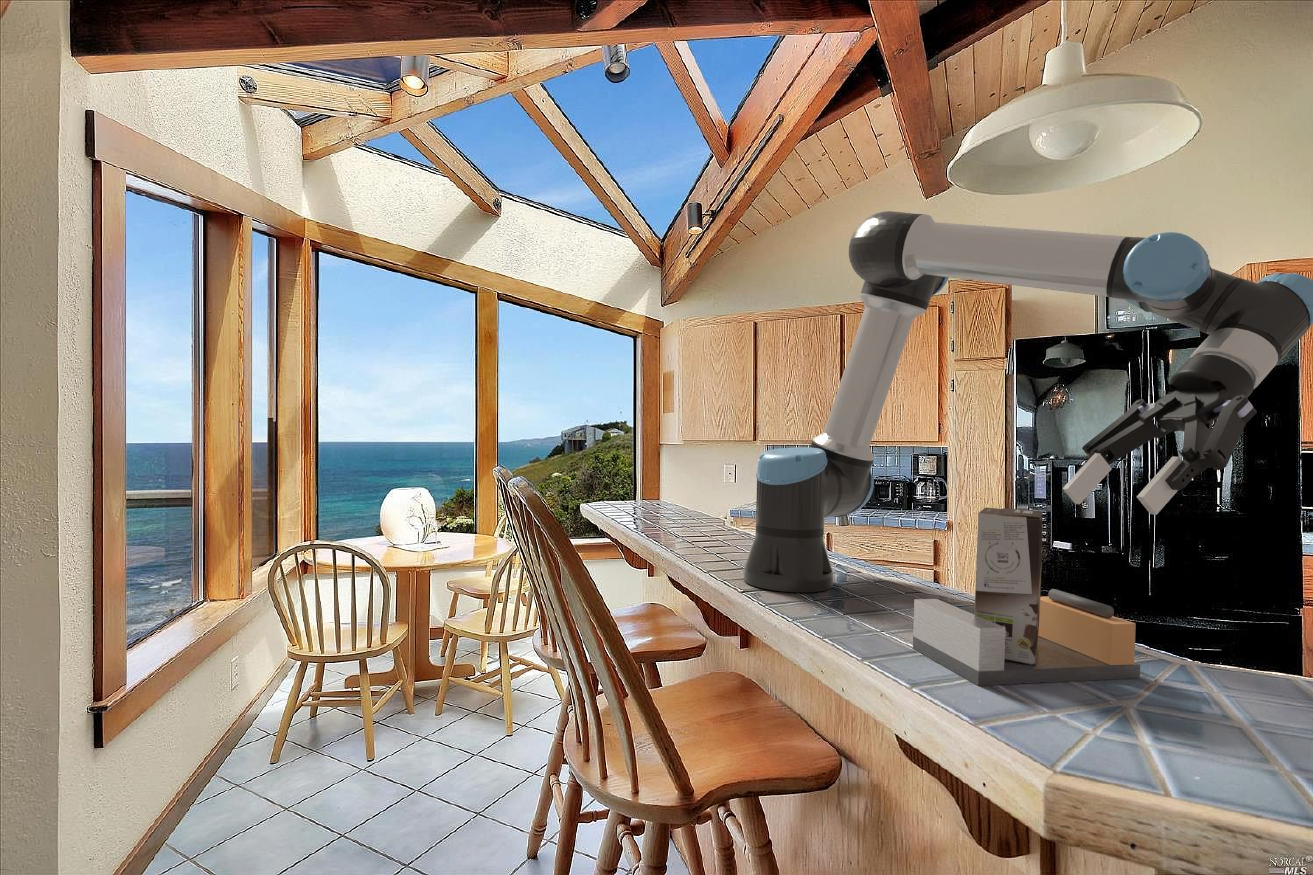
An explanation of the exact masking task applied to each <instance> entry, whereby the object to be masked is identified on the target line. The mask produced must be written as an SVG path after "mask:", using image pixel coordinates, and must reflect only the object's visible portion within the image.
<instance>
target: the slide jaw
mask: <svg viewBox="0 0 1313 875" xmlns="http://www.w3.org/2000/svg"><path fill="white" fill-rule="evenodd" d="M1114 614H1115V609H1114V608H1113V606H1111V605H1108V604H1105V603H1102V602H1098V601H1096V600H1091V599H1089V598H1085V597H1082V596H1079V595H1075V594H1072V593H1069V592H1066V591H1062V590H1059V589H1055V588H1051V589H1050V590H1049V591H1048V593H1047V596H1040V616H1039V632H1038V636H1040V637H1042V638H1045V639H1047V640H1050V641H1052V642H1055V643H1057V644H1060V645H1062V646H1065V647H1067V648H1070V649H1072V650H1074V651H1077V652H1079V653H1082V654H1084V655H1087V656H1089V657H1092V658H1094V659H1097V660H1099V661H1101V662H1104V663H1106V664H1109V665H1131V664H1134V662H1135V657H1136V656H1135V654H1136V653H1135V652H1136V623H1135V622H1133V621H1128V620H1126V619H1124V618H1123V619H1122V618H1120V617H1116V616H1114Z"/></svg>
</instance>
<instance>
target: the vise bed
mask: <svg viewBox="0 0 1313 875" xmlns="http://www.w3.org/2000/svg"><path fill="white" fill-rule="evenodd" d="M912 633H913V635H912V649H913V650H915V651H917V652H918V653H920V654H922V653H923V654H922V655H923V656H925V655H926V657H927V658H929V659H931V660H933V661H934V662H936V663H938V664H940V665H941V666H943V667H944V668H946V669H948V670H949V671H952V672H954V673H955V674H956V675H958V676H960V675H961V676H960V677H962V678H963V679H966V680H967V681H969V682H971V683H973V684H974V683H975V685H976V686H979V687H980V686H982V687H983V686H997V685H998V686H1002V685H1003V684H1004V685H1022V684H1023V683H1024V684H1025V683H1026V684H1041V683H1040V682H1047V683H1065V682H1084V681H1108V680H1109V681H1110V680H1129V679H1133V680H1134V679H1140V678H1141V664H1140V663H1137V662H1135V661H1134V664H1131V665H1109V664H1106V663H1104V662H1101V661H1099V660H1097V659H1094V658H1092V657H1089V656H1087V655H1084V654H1082V653H1079V652H1077V651H1074V650H1072V649H1070V648H1067V647H1065V646H1062V645H1060V644H1057V643H1055V642H1052V641H1050V640H1047V639H1045V638H1042V637H1040V636H1038V645H1037V653H1036V661H1035V664H1026V663H1021V662H1016V661H1012V660H1007V659H1004V656H1005V627H1003V626H1000V625H998V624H995V623H993V622H991V621H988V620H986V619H984V618H981V617H979V616H976V615H975V613H972V612H969V611H966V610H965V609H961V608H959V607H957V606H955V605H952V604H949V603H947V602H945V601H942V600H940V599H937V598H919V599H918V598H917V599H916V598H915V599H914V602H913V631H912ZM1001 684H1002V685H1001ZM1024 684H1023V685H1024Z"/></svg>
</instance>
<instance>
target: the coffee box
mask: <svg viewBox="0 0 1313 875" xmlns="http://www.w3.org/2000/svg"><path fill="white" fill-rule="evenodd" d="M977 513H978V521H977V522H978V523H977V524H978V525H977V542H976V543H977V546H976V566H975V567H976V570H975V594H974V615H976V616H979V617H981V618H984V619H986V620H988V621H991V622H993V623H995V624H998V625H1000V626H1003V627H1005V656H1004V659H1007V660H1012V661H1016V662H1021V663H1026V664H1035V661H1036V653H1037V645H1038V632H1039V616H1040V597H1041V594H1042V593H1041V588H1042V563H1043V561H1042V558H1043V557H1042V556H1043V511H1042V510H1036V509H1021V508H1006V507H1005V508H998V507H997V508H994V507H984V508H983V509H981V510H980V511H979V512H977Z"/></svg>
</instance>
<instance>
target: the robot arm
mask: <svg viewBox="0 0 1313 875" xmlns="http://www.w3.org/2000/svg"><path fill="white" fill-rule="evenodd" d="M848 259H849V263H850V264H851V269H852V270H853V271H854V272H855V274H856V275H858V277H860V278H861V280H863V281H864V282H863V284H862V288H861V290H860V294H859V296H860V298H861V301H862V302H863V304H864V310H863V313H862V315H861V318H860V320H859V324H858V328H857V330H856V334H855V336H854V340H853V342H852V346H851V350H850V352H849V356H848V358H847V361H846V364H845V368H844V370H843V373H842V376H841V378H840V379H841V380H840V382H839V385H838V387H837V392H836V394H835V396H834V400H833V404H832V405H831V409H830V411H829V415H828V419H827V421H826V423H825V424H826V425H825V428H824V429H823V432H822V433H820V434H818V435H816V436H814V437H813V438H812V440H811V443H810V446H809V447H807V446H806V447H804V446H802V447H798V446H796V447H795V446H794V447H793V446H792V447H786V448H784V447H782V448H781V447H780V448H774V449H769V450H766V451H764V452H762V453H761V454H760V455H759V457H758V461H757V462H758V463H757V470H756V473H755V475H756V499H755V500H756V504H755V505H756V508H755V510H756V511H755V512H756V513H755V536H754V540H753V542H752V546H751V548H750V551H749V554H748V556H747V558H746V563H745V564H744V570H743V571H744V572H743V574H744V575H743V581H744V582H745V583H746V584H749V585H751V586H753V587H757V588H760V589H765V590H770V591H775V592H776V591H777V592H786V593H787V592H788V593H818V592H824V591H829V590H831V589H832V588H833V587H834V586H833V585H834V572H833V569H832V565H831V563H830V558H829V555H828V553H827V552H828V551H827V549H826V545H825V540H824V539H825V538H824V537H825V519H828V518H843V517H846V516H848V515H851V514H853V513H856V512H858V511H859V510H861V509H862V508H863V507H865V505H866V504H867V503H868V502H869V501H870V499H871V497H872V494H873V492H874V487H875V485H874V484H875V480H874V476H873V475H872V466H873V464H874V461H875V460H874V459H875V456H874V453H873V452H872V449H871V447H870V446H871V442H872V440H873V437H874V435H875V431H876V429H877V426H878V422H879V420H880V417H881V414H882V411H883V409H884V405H885V402H886V400H887V397H888V394H889V390H890V388H891V385H892V384H893V379H894V377H895V374H896V371H897V369H898V366H899V362H900V359H901V358H902V357H901V356H902V353H903V350H904V348H905V345H906V343H907V339H908V337H909V333H910V331H911V328H912V325H913V323H914V321H915V319H916V318H918V317H920V316H921V315H923V314H926V313H927V310H928V307H929V304H930V302H931V298H932V297H933V296H935V295H936V294H937V293H939V292H940V291H942V290H943V288H944V287H945V286H946V284H947V282H948V281H949V278H951V279H959V280H968V281H976V282H977V281H978V282H985V283H991V284H1000V285H1001V284H1002V285H1009V286H1017V287H1023V288H1024V287H1025V288H1034V289H1039V290H1041V289H1042V290H1049V291H1058V292H1068V293H1075V294H1084V295H1090V296H1099V297H1108V298H1113V299H1119V300H1125V302H1127V303H1129V304H1130V305H1133V306H1135V307H1138V308H1139V309H1140V310H1142V311H1144V312H1146V313H1151V314H1152V313H1153V314H1155V315H1158V316H1160V317H1162V318H1164V319H1168V320H1170V321H1173V322H1176V323H1179V324H1181V325H1184V326H1186V327H1190V328H1192V329H1195V330H1198V331H1200V332H1202V333H1203V334H1207V335H1208V336H1207V338H1205V339H1204V340H1203V341H1202V342H1201V344H1200V345H1199V346H1198V347H1197V348H1196V349H1195V350H1194V351H1193V352H1192V353H1191V354H1190V356H1189V358H1188V359H1187V360H1186V361H1185V362H1184V363H1183V364H1182V365H1181V366H1180V367H1179V368H1178V369H1177V370H1176V372H1175V373H1174V374H1173V375H1172V376H1171V377H1170V380H1169V384H1168V385H1169V386H1168V391H1167V394H1165V395H1164V396H1162V397H1161V398H1159V399H1158V400H1157V401H1156V402H1154V403H1152V402H1151V403H1146V401H1145V400H1144V399H1142V398H1141V399H1137V400H1136V401H1134V402H1133V403H1132V405H1131V406H1130V407H1129V409H1127V411H1125V412H1124V413H1123V414H1121V416H1119V417H1118V418H1117V419H1115V421H1113V422H1112V423H1111V424H1109V425H1108V426H1107V427H1105V428H1104V429H1103V430H1102V431H1100V432H1099V433H1098V434H1097V435H1095V436H1094V437H1093V438H1092V439H1090V440H1089V441H1088V442H1086V443H1085V444H1084V445H1083V446H1082V448H1081V449H1082V450H1083V451H1084V453H1085V454H1086V455H1087V456H1088V458H1087V459H1086V460H1085V461H1084V462H1083V464H1082V465H1081V466H1079V468H1078V469H1077V470H1076V473H1075V474H1074V476H1072V477H1071V479H1070V480H1069V481H1067V482H1066V484H1065V485H1064V486H1063V487H1062V489H1063V491H1064V492H1065V493H1066V495H1067V496H1068V498H1070V500H1071V501H1072V502H1073V503H1074V504H1076V505H1080V504H1082V502H1083V501H1084V500H1085V499H1087V497H1088V496H1089V495H1090V494H1091V493H1092V492H1093V490H1094V489H1095V488H1096V487H1097V486H1098V485H1099V483H1101V481H1102V480H1103V479H1105V478H1106V476H1107V475H1108V474H1109V472H1111V471H1112V466H1110V465H1111V464H1113V463H1115V462H1116V461H1118V460H1119V459H1121V458H1123V457H1124V456H1127V455H1128V454H1129V453H1132V452H1133V451H1134V450H1136V449H1138V448H1140V447H1142V446H1143V445H1145V444H1146V443H1148V442H1150V441H1151V440H1153V439H1155V438H1157V439H1162V438H1164V437H1166V436H1167V435H1169V434H1171V433H1173V432H1182V433H1184V434H1183V440H1182V441H1183V443H1182V449H1180V450H1177V451H1178V453H1179V454H1180V456H1181V457H1182V458H1183V459H1181V458H1180V456H1171V457H1170V459H1169V460H1168V461H1167V462H1166V463H1165V465H1163V466H1162V467H1161V469H1159V471H1158V472H1157V474H1155V476H1153V478H1152V479H1151V480H1150V481H1149V482H1148V483H1147V485H1145V486H1144V487H1143V489H1142V490H1141V491H1140V492H1139V493H1138V495H1136V498H1137V499H1138V501H1139V502H1140V503H1141V504H1142V506H1143V507H1144V508H1145V509H1146V511H1147V512H1148V513H1149V514H1150V515H1155V516H1156V515H1158V514H1159V513H1160V512H1161V510H1162V509H1164V507H1165V506H1166V504H1168V503H1169V502H1170V500H1171V499H1172V498H1173V497H1174V496H1175V494H1177V492H1178V491H1182V490H1183V489H1185V488H1186V487H1187V486H1188V485H1189V483H1190V482H1191V481H1192V480H1193V479H1194V477H1196V476H1197V474H1200V473H1204V472H1205V471H1206V470H1207V469H1210V468H1211V469H1212V468H1213V470H1214V471H1221V470H1223V469H1225V468H1226V467H1227V466H1228V464H1229V462H1230V459H1231V457H1232V455H1233V453H1234V450H1235V448H1236V446H1237V444H1238V442H1239V440H1240V437H1241V435H1242V433H1243V430H1244V428H1245V427H1246V424H1247V423H1248V422H1250V421H1251V419H1252V418H1253V417H1254V416H1255V415H1256V414H1257V413H1258V412H1257V410H1256V408H1255V407H1254V406H1253V404H1252V403H1251V402H1250V401H1249V399H1248V398H1249V396H1251V394H1252V393H1253V391H1254V390H1255V389H1256V388H1257V387H1258V386H1259V385H1260V384H1261V382H1263V380H1264V379H1265V378H1267V376H1268V375H1269V374H1270V372H1271V371H1272V370H1273V368H1275V367H1276V366H1277V365H1278V363H1279V362H1280V361H1281V360H1282V359H1283V358H1284V357H1285V356H1286V355H1287V353H1289V352H1290V350H1291V349H1293V347H1294V346H1295V345H1296V344H1297V343H1298V342H1299V341H1300V340H1301V339H1302V338H1303V337H1304V336H1305V334H1306V333H1307V332H1308V330H1310V327H1311V326H1312V325H1313V279H1311V278H1310V277H1308V276H1305V275H1302V274H1301V273H1300V274H1298V273H1295V272H1289V273H1282V272H1276V273H1272V274H1268V275H1266V276H1264V277H1263V278H1261V279H1259V280H1257V282H1254V281H1252V280H1249V279H1246V278H1245V279H1244V278H1242V277H1238V276H1234V275H1233V274H1232V275H1231V274H1229V273H1226V272H1223V271H1220V270H1217V269H1215V268H1213V267H1211V264H1210V258H1209V255H1208V253H1207V251H1206V250H1205V248H1204V247H1203V246H1202V245H1201V243H1199V242H1198V241H1197V240H1195V239H1193V237H1191V236H1189V235H1186V234H1184V233H1180V232H1173V231H1167V232H1160V233H1155V234H1153V235H1150V236H1147V237H1140V236H1136V237H1135V236H1125V235H1112V234H1110V235H1109V234H1098V233H1084V232H1071V231H1070V232H1069V231H1059V230H1058V231H1057V230H1043V229H1027V228H1017V227H1003V226H990V225H978V224H977V225H976V224H965V223H964V224H963V223H947V222H935V220H934V219H933V217H932V216H931V215H929V214H926V213H925V214H924V213H911V212H901V211H893V210H892V211H889V210H888V211H886V210H885V211H881V212H877V213H875V214H872V215H870V216H869V217H867V218H865V219H864V220H863V221H862V222H861V223H859V225H858V226H857V227H856V229H855V230H854V231H853V233H852V235H851V237H850V240H849V245H848ZM1154 418H1155V421H1156V423H1157V424H1158V425H1159V427H1160V428H1158V426H1157V425H1156V423H1155V422H1154V421H1153V420H1154ZM1214 421H1215V423H1214ZM1213 424H1214V425H1213Z"/></svg>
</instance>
